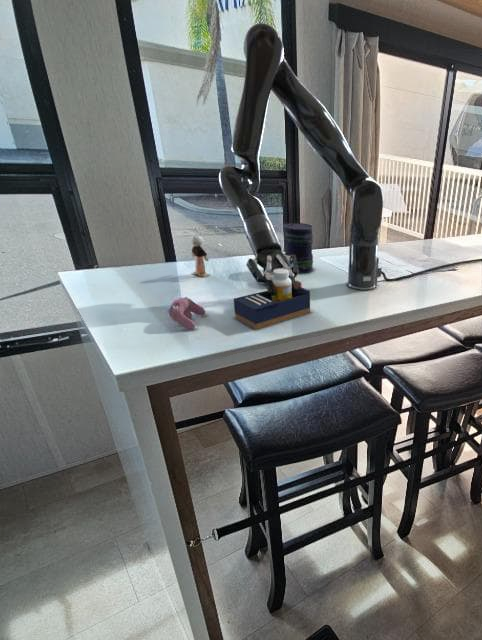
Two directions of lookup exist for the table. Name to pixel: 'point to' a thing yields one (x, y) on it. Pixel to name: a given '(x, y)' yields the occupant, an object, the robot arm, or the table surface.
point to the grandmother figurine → (199, 256)
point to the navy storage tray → (271, 308)
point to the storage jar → (299, 245)
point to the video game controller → (185, 312)
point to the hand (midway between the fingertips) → (285, 292)
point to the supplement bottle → (282, 285)
